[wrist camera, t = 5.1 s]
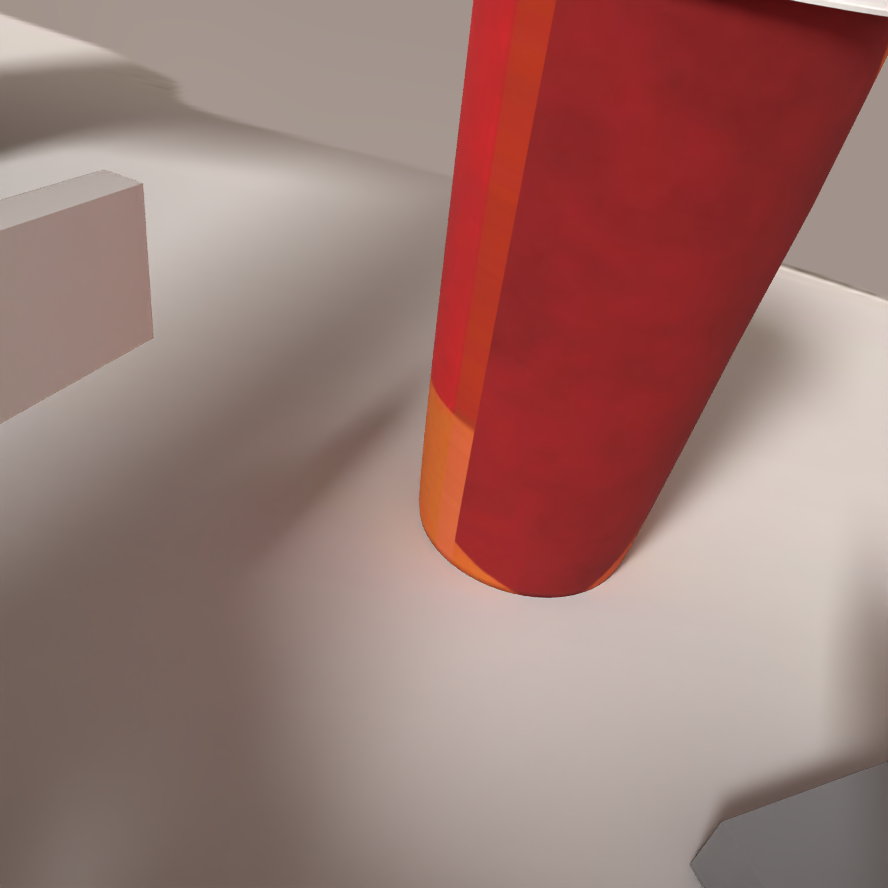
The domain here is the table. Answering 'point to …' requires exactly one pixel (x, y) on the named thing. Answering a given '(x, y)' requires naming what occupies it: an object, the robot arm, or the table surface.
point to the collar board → (805, 839)
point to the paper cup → (614, 255)
